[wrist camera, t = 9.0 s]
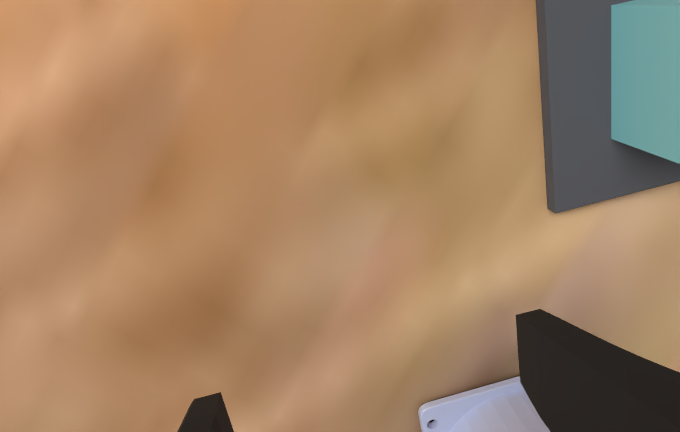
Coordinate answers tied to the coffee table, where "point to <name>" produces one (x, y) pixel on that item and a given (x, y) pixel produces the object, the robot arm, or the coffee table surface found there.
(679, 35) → the collar
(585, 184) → the mat
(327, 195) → the coffee table surface
